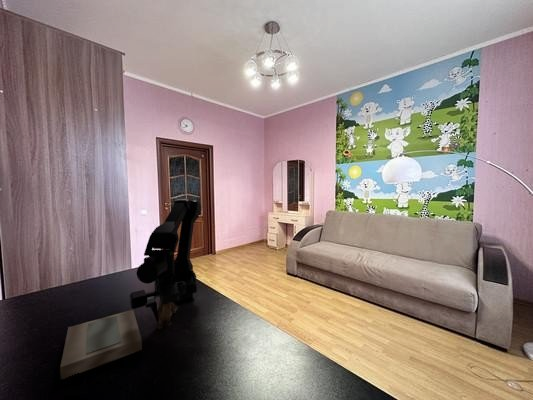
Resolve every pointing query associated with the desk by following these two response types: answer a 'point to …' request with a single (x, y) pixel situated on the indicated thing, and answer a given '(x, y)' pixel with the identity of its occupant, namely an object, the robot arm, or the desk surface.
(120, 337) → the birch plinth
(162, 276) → the robot arm
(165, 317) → the lion figurine
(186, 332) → the desk surface
